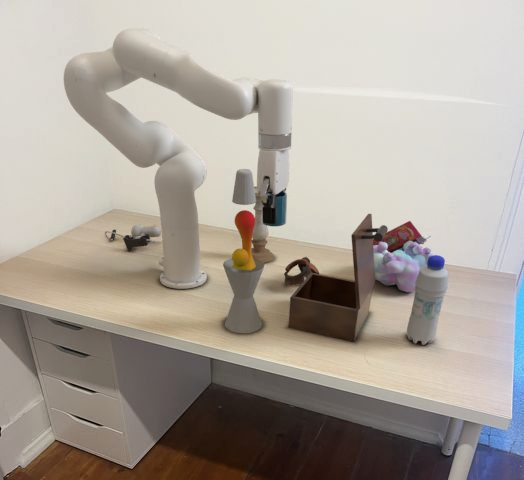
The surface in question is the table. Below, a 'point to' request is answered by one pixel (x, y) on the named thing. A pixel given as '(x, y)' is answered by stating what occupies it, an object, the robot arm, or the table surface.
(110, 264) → the table surface
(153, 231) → the clip-on lamp
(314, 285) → the chest
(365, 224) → the lid
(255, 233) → the candle holder
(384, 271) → the iridescent bubble cluster
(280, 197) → the cup
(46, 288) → the table surface
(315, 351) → the table surface
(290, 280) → the pottery mug
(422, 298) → the bottle
